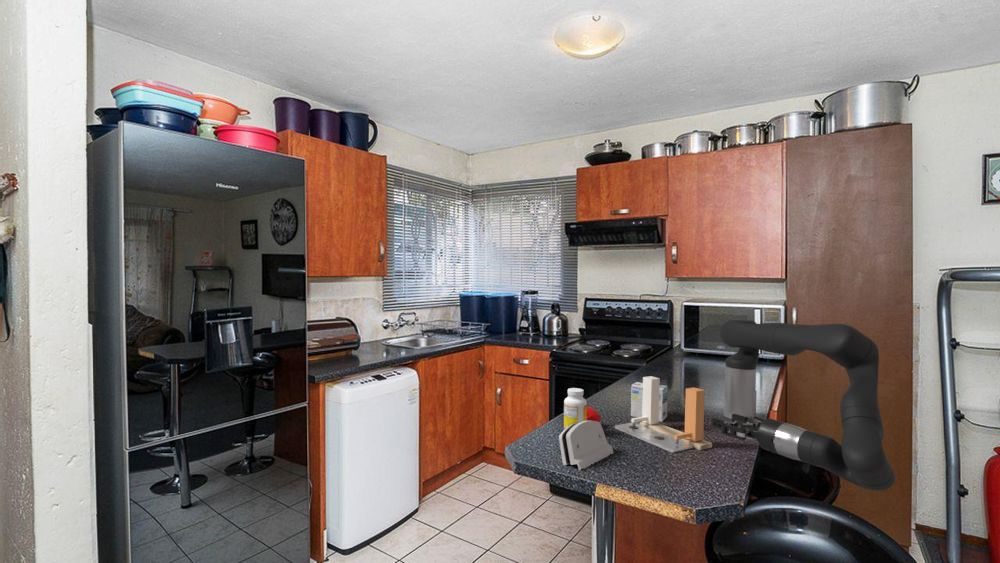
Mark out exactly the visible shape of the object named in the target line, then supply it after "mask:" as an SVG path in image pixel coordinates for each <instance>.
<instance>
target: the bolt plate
mask: <svg viewBox="0 0 1000 563" xmlns="http://www.w3.org/2000/svg"><path fill="white" fill-rule="evenodd" d="M614 429H615V430H618V431H621V432H623V433H625V434H628V435H630V436H632V437H634V438H637V439H639V440H642V441H643V442H646V443H648V444H651V445H653V446H656V447H658V448H661V449H663V450H665V451H667V452H670V453H672V454H674V453H678V452H681V451H686V450H690V449H693V445H691V444H688V443H686V442H683V441H681V440H679V444H675V439H674V438H673V437H670V436H668V435H665V434H663V433H660V432H658V431H655V430H653V429H650V428H647V427H645V426H642V425H640V424H639V423H638V422H635V427H633V426H632V422H627V423H621V424H616V425H614Z"/></svg>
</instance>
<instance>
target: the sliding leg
mask: <svg viewBox="0 0 1000 563" xmlns="http://www.w3.org/2000/svg"><path fill="white" fill-rule="evenodd" d="M705 390H706V389H701V388H699V387H698V388H697V387H693V386H692V387H688V388H685V406H684V410H685V411H684V433H681V434H677V435H674V439H675V444H679V439H683V438H687V439H689V440H692V441H695V442H696V441H700V440H704V426H705V395H706V394H705V392H706V391H705Z"/></svg>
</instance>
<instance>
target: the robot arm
mask: <svg viewBox="0 0 1000 563" xmlns="http://www.w3.org/2000/svg"><path fill="white" fill-rule="evenodd" d="M719 336H720V338H721V341H722V343H723V344H725V345H726V346H727V347H730V348H739V349H738V351H736V352H735V353H734V354H732V355H730V356H728V357H726V358H725V368H724V369H725V371H724V373H725V374H724V376H725V377H724V409H723V415H724V417H725V418H726V419H729V420H731V421H727V420H723V419H719V418H716V417H712V418H711V420H710V421H711V422H710V424H711V427H713V428H716V429H719V430H721V432H720V433H721V435H725V436H728V437H731V438H734V439H737V440H741V441H746V439H748V440H756V441H757V444H758V445H759V447H760V448H761V449H762V450H766V451H768V452H771V453H774V454H777V455H780V456H781V457H785V458H788V459H792V460H794V461H800V462H803V463H806V464H809V465H812V466H814V467H818V468H821V469H824V470H826V471H828V472H830V473H831V474H833V475H835V476H836V477H839V478H841V479H843V480H844V481H847V482H848V483H851V484H852V485H855V486H858V487H860V488H863V489H866V490H870V491H877V492H878V491H880V492H881V491H886V490H889V489H891V488H892V487H893V486H894V484H895V482H896V474H895V471H894V468H893V467H892V466H891V463H890V462H889V460H888V458H887V457H886V454H885V451H884V447H883V442H882V441H883V440H884V436H885V435H884V434H885V432H884V427H883V422H882V421H883V420H882V414H881V411H880V406H879V398H878V397H879V395H878V394H879V393H878V392H879V391H878V389H879V366H880V354H879V352H880V351H879V348H878V345H877V344H876V343H875V341H873V340H872V339H871V338H870V337H869V336H866V335H865V334H864V333H863V332H861V331H860V330H858V329H856V328H855V327H854V326H851V325H850V324H849V325H848V324H843V323H827V324H797V323H787V322H763V323H756V321H753V320H748V319H747V320H745V319H743V320H742V319H731V320H727V321H725V322H724V323H723V324H722V325H721V327H720V329H719ZM760 351H764V352H768V353H771V354H772V353H773V354H777V355H783V356H798V355H801V354H802V353H804V352H805V351H811V352H816V353H819V354H822V355H824V356H826V357H827V358H829V359H830V360H832V361H833V362H835V364H838V365H839V366H841V367H842V368H844V369H845V372H846V373H847V377H848V379H849V380H848V381H849V386H848V387H847V389H846V391H845V393H843V395H842V396H841V399H840V403H839V404H840V405H839V413H840V420H841V427H842V435H841V444H840V443H839V442H838V441H837V440H835V439H834V438H832V437H831V436H828V435H825V434H822V433H819V432H814V431H811V430H807V429H805V428H803V427H801V426H797V425H794V424H791V423H787V422H784V421H780V420H777V419H774V418H769V417H768V418H762V417H758V416H757V390H756V386H757V384H756V383H757V381H756V380H757V365H758V362H759V359H760V356H759V355H760Z"/></svg>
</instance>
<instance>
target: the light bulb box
mask: <svg viewBox="0 0 1000 563" xmlns="http://www.w3.org/2000/svg"><path fill="white" fill-rule="evenodd" d="M630 390H631V391H630V417H632V418H638V417H642V399H643V382H639V381H636V382H634V383H632V384H631V388H630ZM667 417H668V385H662V384H661V385H660V386H659V422H660V423H663V421H665V420H666V419H667Z"/></svg>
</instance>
